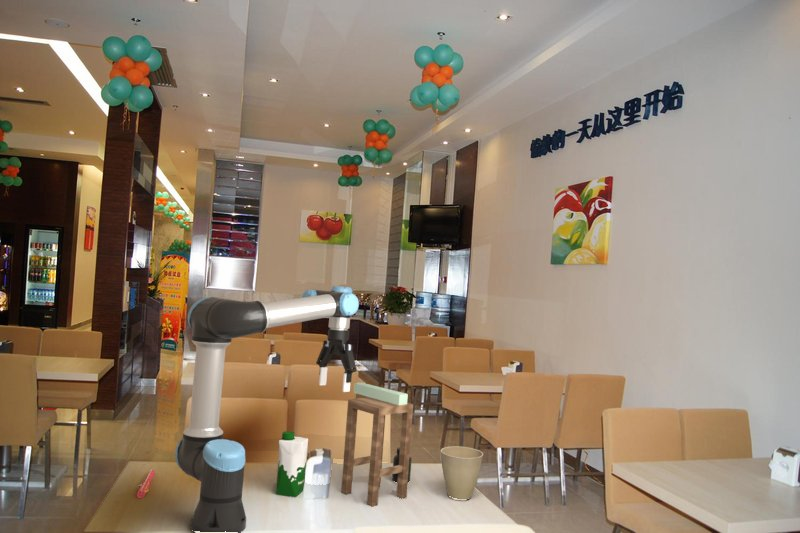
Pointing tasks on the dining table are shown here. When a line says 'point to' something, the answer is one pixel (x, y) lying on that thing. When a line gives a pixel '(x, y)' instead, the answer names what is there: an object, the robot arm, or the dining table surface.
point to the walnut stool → (377, 446)
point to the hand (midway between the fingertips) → (333, 388)
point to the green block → (381, 393)
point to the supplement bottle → (396, 462)
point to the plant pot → (460, 470)
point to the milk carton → (291, 464)
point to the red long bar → (145, 485)
